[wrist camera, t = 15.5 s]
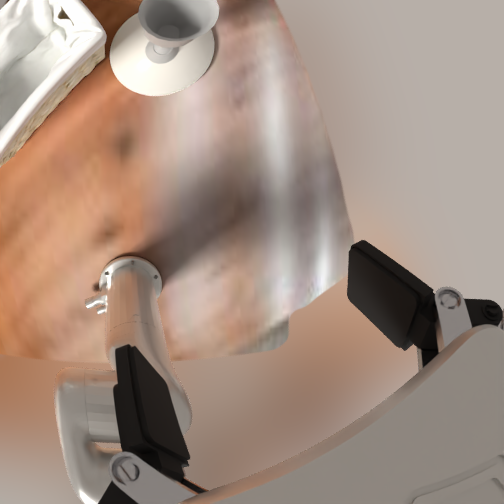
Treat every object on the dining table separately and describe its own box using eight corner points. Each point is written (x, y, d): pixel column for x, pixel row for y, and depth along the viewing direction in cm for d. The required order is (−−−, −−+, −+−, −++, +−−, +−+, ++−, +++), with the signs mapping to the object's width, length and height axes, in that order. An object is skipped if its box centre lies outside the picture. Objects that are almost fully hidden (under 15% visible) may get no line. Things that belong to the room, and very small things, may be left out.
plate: (122, 110, 33) (122, 110, 33) (103, 23, 24) (102, 21, 23) (220, 81, 37) (223, 81, 36) (203, -1, 28) (205, -3, 27)
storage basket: (69, 0, 19) (47, -36, 7) (120, 56, 29) (111, 32, 17) (-30, 110, 19) (-78, 121, 8) (16, 166, 29) (-25, 196, 18)
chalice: (133, 67, 30) (129, 38, 15) (143, 28, 27) (149, -21, 12) (181, 71, 33) (210, 47, 19) (190, 33, 30) (226, -10, 16)
